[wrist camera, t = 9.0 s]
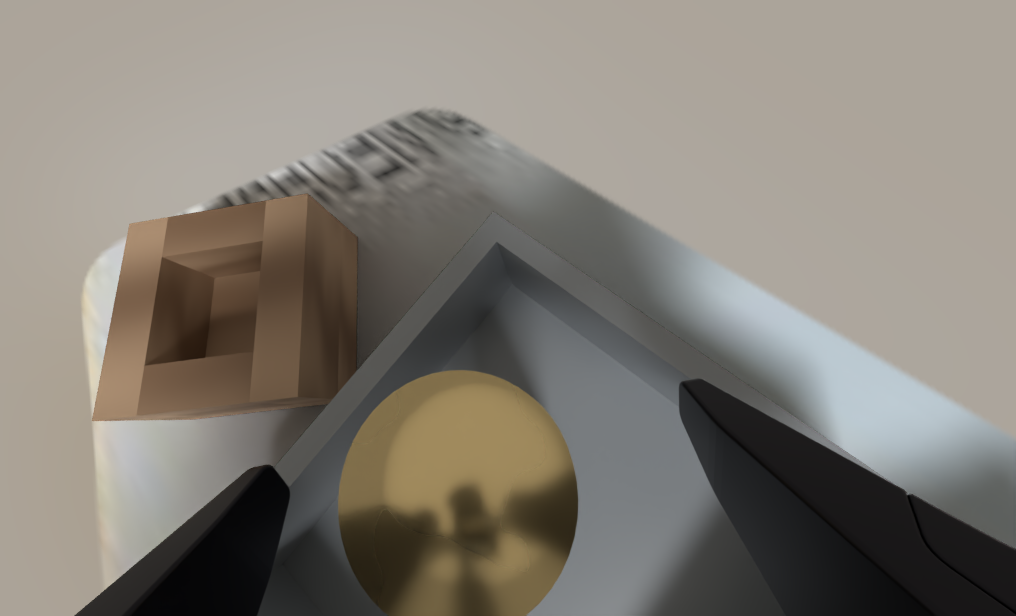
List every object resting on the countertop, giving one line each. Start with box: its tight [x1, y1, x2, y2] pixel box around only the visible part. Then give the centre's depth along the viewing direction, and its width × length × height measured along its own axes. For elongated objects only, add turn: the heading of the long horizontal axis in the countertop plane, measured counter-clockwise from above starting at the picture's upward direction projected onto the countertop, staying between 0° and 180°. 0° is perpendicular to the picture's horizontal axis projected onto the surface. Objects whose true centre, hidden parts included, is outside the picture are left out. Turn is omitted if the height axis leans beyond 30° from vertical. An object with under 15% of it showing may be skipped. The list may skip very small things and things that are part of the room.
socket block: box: [92, 194, 358, 421], centre depth 17 cm, size 8×8×4 cm
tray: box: [257, 211, 908, 616], centre depth 12 cm, size 16×16×5 cm
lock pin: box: [338, 370, 578, 616], centre depth 11 cm, size 4×4×10 cm
